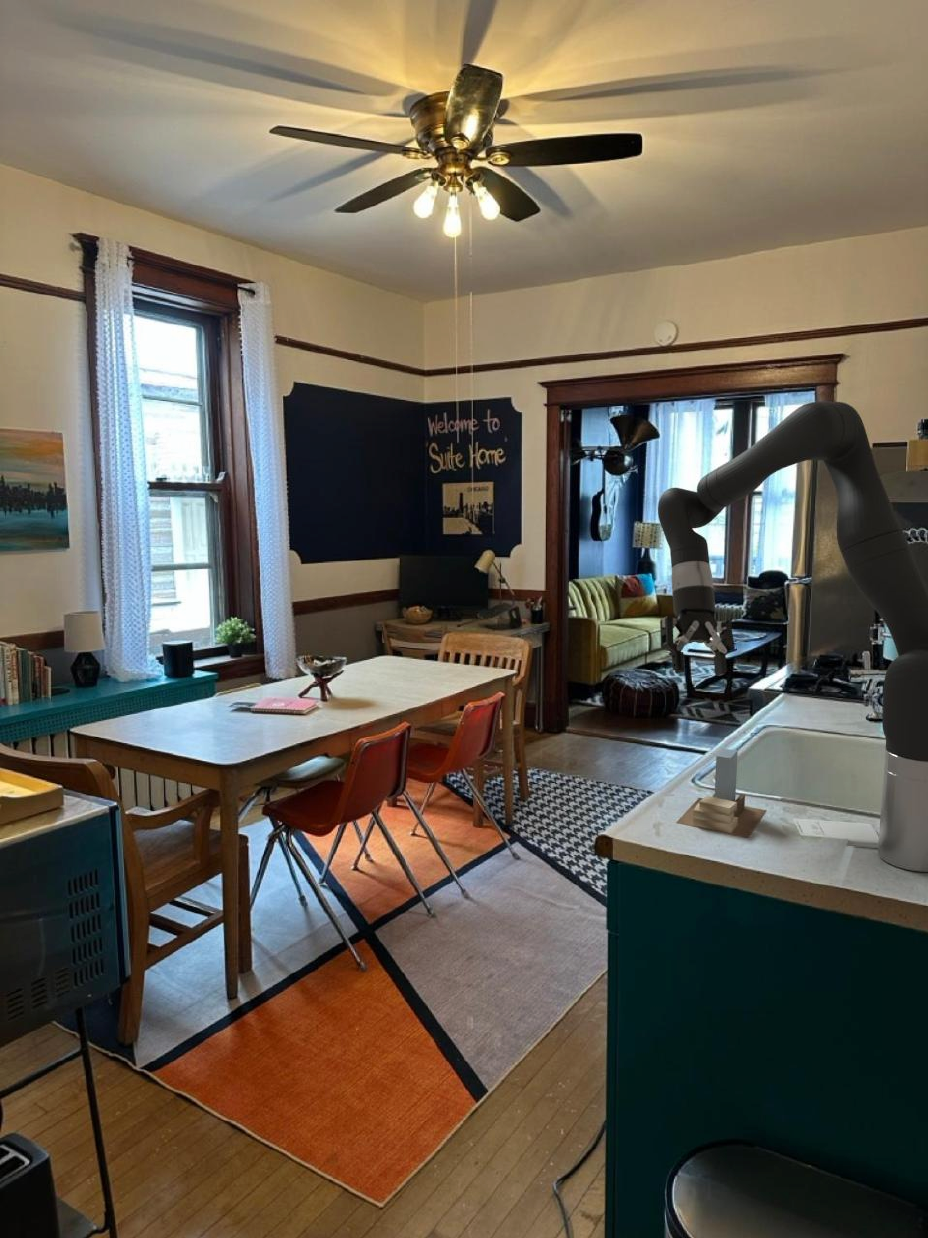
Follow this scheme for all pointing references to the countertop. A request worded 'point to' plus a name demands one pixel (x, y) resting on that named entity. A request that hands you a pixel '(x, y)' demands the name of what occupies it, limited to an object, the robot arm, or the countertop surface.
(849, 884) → the countertop surface
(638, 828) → the countertop surface
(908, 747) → the robot arm
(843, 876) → the countertop surface
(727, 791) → the slate-blue block
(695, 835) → the countertop surface
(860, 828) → the external hard drive
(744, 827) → the walnut stand
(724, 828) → the birch offcut stack
